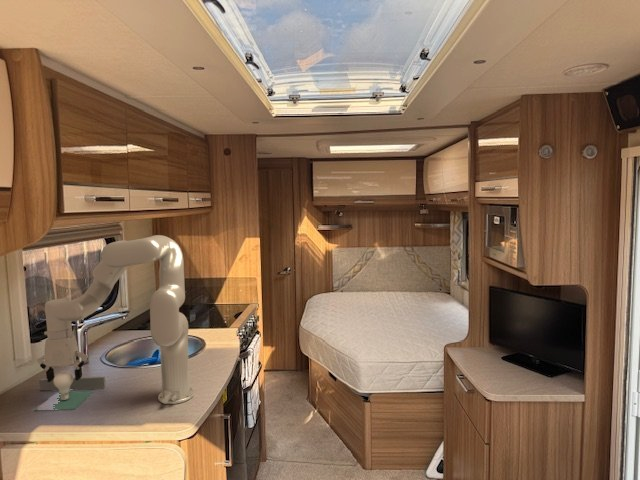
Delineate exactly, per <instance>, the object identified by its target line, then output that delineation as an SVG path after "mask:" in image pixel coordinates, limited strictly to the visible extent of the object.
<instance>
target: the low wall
mask: <svg viewBox="0 0 640 480" xmlns="http://www.w3.org/2000/svg"><path fill="white" fill-rule="evenodd" d="M38 383H39V391H40V390H59V389H58V388H57V387H56V386H55V385H54V383H53V380H52V381H51V382H48V380H47V378H40V379H39V382H38ZM106 384H107V383H106V376H82V377H81V378H80V379H79V380H75V376H74V380H73V383H72V384H71V386H70V389H74V390H73V391H76V390H75V389H82V390H81V391H84V390H83V389H86V390H85V391H88V390H105V389H106V387H107V386H106Z"/></svg>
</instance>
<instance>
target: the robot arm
mask: <svg viewBox="0 0 640 480" xmlns="http://www.w3.org/2000/svg"><path fill="white" fill-rule="evenodd" d="M100 257H101V260H100V261H99V262H98V264H97V265H96V266H95V268H94V269H93V270H92V277H93V281H92V282H91V284H90V286H88V288H87V289H86V290H85V292H84V293H83V294H82V295H81V296H79V297H76V298H74V299H72V300H68V299H66V298H55V299H51V300H47V301H46V302H45V304H44V312H45V319H46V320H45V321H46V331H44V332H43V334H44V336H47V338H46V339H45V344H44V355H42V356H41V357H39V358H37V360H36V361H37V363H38V365H39V367H40V368H41V369H43V371H44V372H45V373H46V374H45V375H46V379H47V380H48V382H51V381H52V380H53V379H54V377H55V370H54V368H59V367H60V368H61V367H70V366H72V367H73V368H74V377H75V380H79V379H80V378H81V377H83V368H82V367H84V366H85V364H86V363H87V360H88V359H89V358H88V357H89V355H87V354H85V353H83V352H80V351H79V346H78V342H77V339H76V335H74V334H73V326H72V322H78V321H81V320H84V319H85V318H87V317H89V316H90V315H92V314H94V313H95V312H96V311H97V310H98V309H99V308H100V307H101V306H102V305H103V303H104V302H105V301H106V300H107V298H108V297H109V295H110V294H111V292H112V290H113V289H114V286H115V284H116V283H117V282H118V281H119V279H120V278H121V277H122V276H123V275H124V273H125V272H126V270H127V269H128V268H129V267H131V266H136V265H144V264H150V263H153V262H157V261H158V262H159V269H158V270H159V271H158V276H159V277H158V278H159V282H158V283H159V284H158V285H159V287H158V289H157V290H156V291H154V293H153V294H152V295H151V298H150V302H149V315H150V316H149V318H150V319H149V320H150V321H149V322H150V323H149V324H150V336H151V339H152V342H154V344H155V345H157V346H159V347H160V349H159V350H160V351H159V353H160V369H161V386H162V387H161V389H162V391H161V392H160V393H159V394H158V396H157V398H158V399H157V400H158V402H160V403H162V404H165V405H176V404H182V403H184V402H187V401H189V400H190V399H192V398H193V397H194V395H195V389H194V388H192V387H190V385H191V384H190V373H189V372H190V370H189V369H190V368H189V344H188V343H189V320H188V319H187V317H186V316H185V314H184V313H183V312H180V308H181V307H182V306H183V304H184V303H185V300H186V289H185V283H186V282H185V264H184V263H185V262H184V255H183V251H182V248H181V247H180V246H179V243H177V242H176V241H175V240H174V239H172V238H170V237H168V236H165V235H162V234H161V235H160V234H155V235H151V236H148V237H143V238H138V239H131V240H125V239H123V240H122V239H121V240H118V241H113V242H110V243H108V244H106V245H105V246H104V247H103V249H102V251H101V256H100ZM80 359H81V361H80Z"/></svg>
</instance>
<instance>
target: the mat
mask: <svg viewBox="0 0 640 480" xmlns="http://www.w3.org/2000/svg"><path fill="white" fill-rule="evenodd" d="M93 393H94V390H85V391H84V390H77V391H69V397H70V398H69V399H67V400H66V401H64V400H61V395H59V397H60V398H57V399H59V400H58V401H60V402H58V404H53V405H55V406H53V407H55V408H53V409H54V410H55V409H58V410H57V411H73V410H76V409H77V408H78V407H79V406H80V405H82V404H83V402H85V401H86V399H88V398H89V397H90V396H91V395H92V394H93ZM59 394H60V393H59ZM59 409H60V410H59ZM33 410H38V409H35V408H34V409H33Z"/></svg>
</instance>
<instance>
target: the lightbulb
mask: <svg viewBox="0 0 640 480" xmlns="http://www.w3.org/2000/svg"><path fill="white" fill-rule="evenodd" d="M74 377H75V375H74V374H73V372H72V371H71V370H70V371H69V370H66V369H65V370H60V371H58V372H57V373H56V374H54V379H53V383H54V385H55V386H56V387H57V388H58V389H59V391H58V392H60V394H61V400H64V401H66V400H67V399H69V398H70V397H69V392H70V391H71V390H70V386H71V384H72V383H73V380H74Z"/></svg>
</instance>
